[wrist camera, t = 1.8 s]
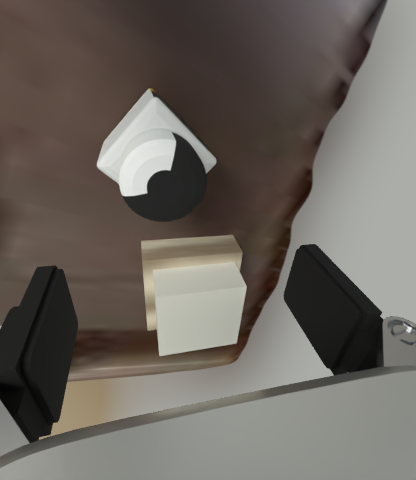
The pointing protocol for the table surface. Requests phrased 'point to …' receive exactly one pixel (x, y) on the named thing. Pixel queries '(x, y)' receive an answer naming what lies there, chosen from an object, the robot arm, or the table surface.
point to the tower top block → (198, 306)
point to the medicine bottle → (156, 161)
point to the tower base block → (183, 260)
